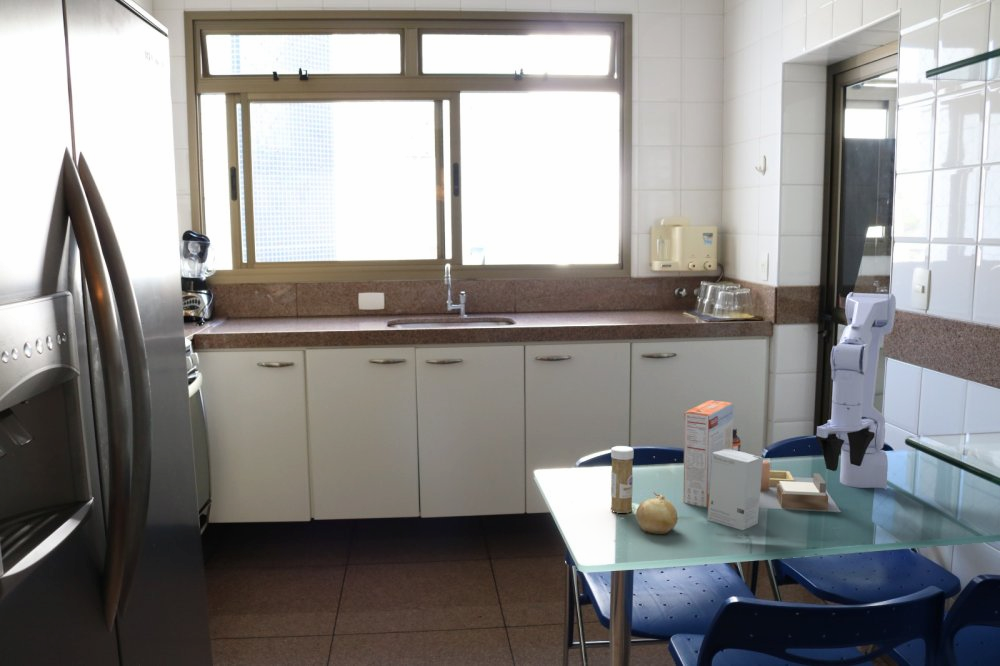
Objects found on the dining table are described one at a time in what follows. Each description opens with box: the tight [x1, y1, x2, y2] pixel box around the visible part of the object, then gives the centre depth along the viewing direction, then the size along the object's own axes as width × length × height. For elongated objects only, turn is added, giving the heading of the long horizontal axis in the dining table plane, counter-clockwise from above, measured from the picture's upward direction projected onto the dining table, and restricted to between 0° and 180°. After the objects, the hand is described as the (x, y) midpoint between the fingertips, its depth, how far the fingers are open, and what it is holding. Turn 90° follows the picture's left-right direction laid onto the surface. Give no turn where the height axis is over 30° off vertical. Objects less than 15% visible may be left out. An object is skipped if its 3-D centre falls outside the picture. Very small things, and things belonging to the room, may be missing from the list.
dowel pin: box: [760, 459, 771, 491], centre depth 186 cm, size 4×4×6 cm
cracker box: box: [682, 399, 734, 509], centre depth 181 cm, size 14×6×21 cm, turn 145°
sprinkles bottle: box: [610, 445, 635, 514], centre depth 175 cm, size 5×5×13 cm
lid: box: [779, 472, 827, 496], centre depth 176 cm, size 8×7×3 cm
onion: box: [635, 491, 679, 535], centre depth 165 cm, size 8×8×7 cm
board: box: [759, 469, 842, 513], centre depth 184 cm, size 16×23×3 cm
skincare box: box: [706, 449, 764, 531], centre depth 166 cm, size 8×6×15 cm
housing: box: [776, 484, 828, 511], centre depth 177 cm, size 9×7×3 cm
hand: (843, 467), depth 174 cm, fingers open, 7 cm apart
